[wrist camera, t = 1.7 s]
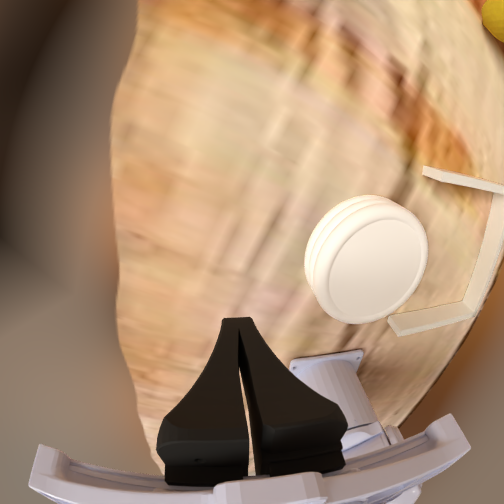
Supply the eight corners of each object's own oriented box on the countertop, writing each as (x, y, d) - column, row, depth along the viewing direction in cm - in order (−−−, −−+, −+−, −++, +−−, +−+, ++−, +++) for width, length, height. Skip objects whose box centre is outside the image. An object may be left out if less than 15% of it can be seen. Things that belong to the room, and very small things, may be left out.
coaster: (424, 238, 22) (447, 255, 19) (356, 318, 25) (371, 342, 22) (358, 166, 19) (383, 175, 16) (276, 268, 22) (286, 294, 18)
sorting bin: (463, 305, 27) (474, 316, 24) (386, 321, 25) (398, 336, 23) (498, 183, 20) (514, 189, 18) (423, 165, 19) (442, 171, 17)
